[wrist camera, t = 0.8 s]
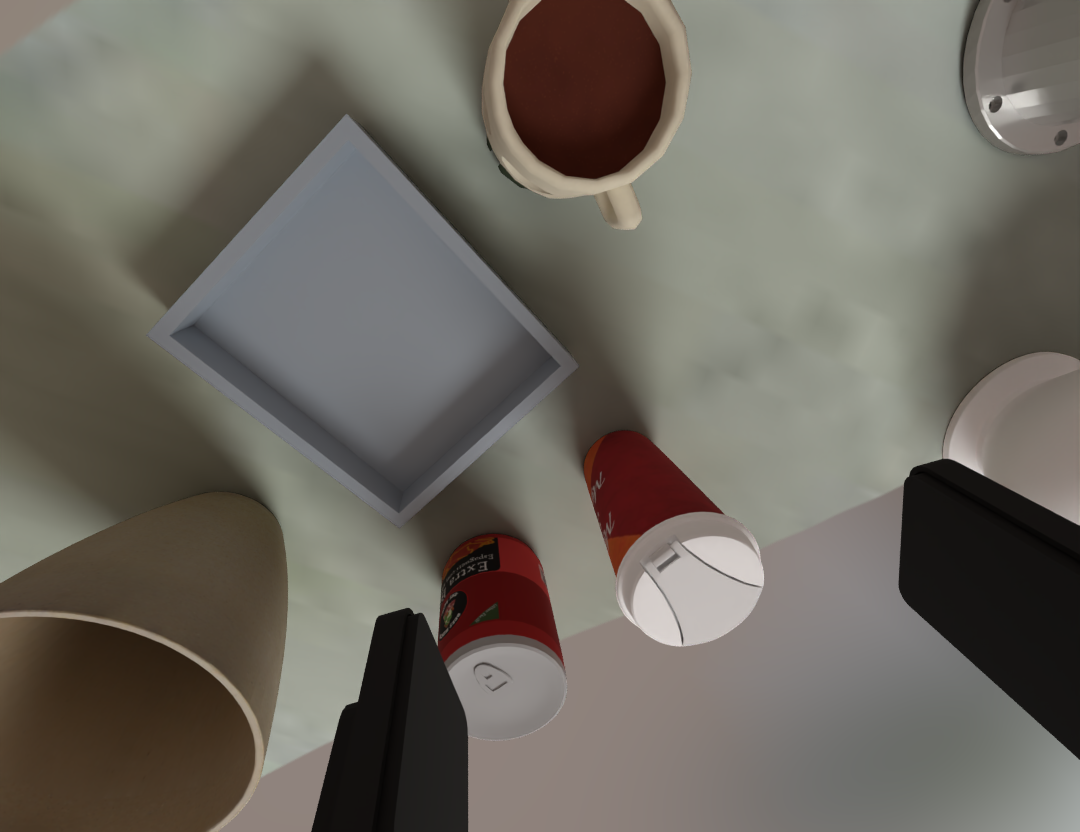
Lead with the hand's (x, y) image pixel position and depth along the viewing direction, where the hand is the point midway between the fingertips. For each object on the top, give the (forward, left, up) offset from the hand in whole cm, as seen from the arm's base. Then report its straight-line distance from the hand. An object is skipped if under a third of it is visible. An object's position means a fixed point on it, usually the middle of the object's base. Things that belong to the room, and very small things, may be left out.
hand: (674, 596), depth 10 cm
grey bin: (+7, -5, -26) cm, 27 cm away
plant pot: (+25, -3, -26) cm, 36 cm away
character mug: (-8, -7, -26) cm, 28 cm away
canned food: (+15, +13, -26) cm, 33 cm away
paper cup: (+2, +13, -26) cm, 29 cm away
